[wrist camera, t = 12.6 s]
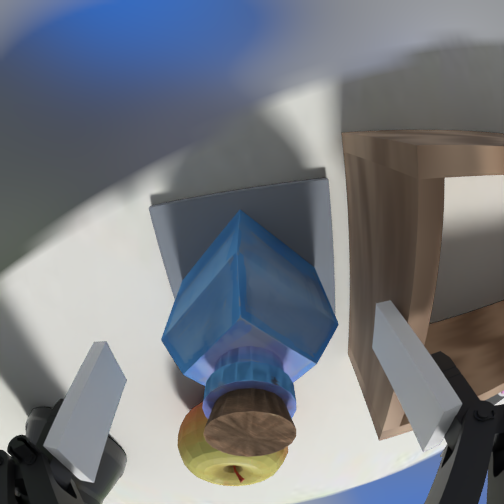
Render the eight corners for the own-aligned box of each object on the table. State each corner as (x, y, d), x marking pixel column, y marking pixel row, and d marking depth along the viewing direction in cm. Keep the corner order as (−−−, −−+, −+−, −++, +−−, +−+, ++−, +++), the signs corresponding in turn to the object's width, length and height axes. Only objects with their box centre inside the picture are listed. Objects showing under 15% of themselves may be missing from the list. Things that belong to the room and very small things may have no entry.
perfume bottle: (182, 280, 20) (131, 434, 9) (239, 209, 18) (230, 345, 7) (254, 327, 22) (260, 481, 11) (314, 267, 20) (374, 418, 9)
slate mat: (192, 341, 23) (190, 346, 22) (151, 205, 19) (148, 207, 18) (333, 322, 23) (335, 327, 22) (325, 177, 18) (328, 179, 18)
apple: (297, 422, 28) (307, 488, 21) (215, 442, 29) (211, 503, 22) (259, 365, 24) (263, 447, 17) (163, 393, 26) (147, 463, 18)
